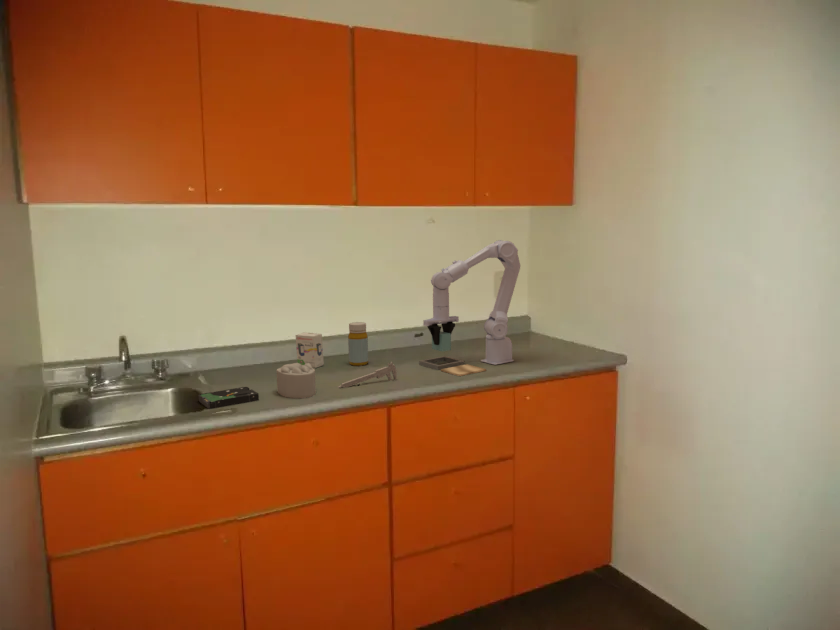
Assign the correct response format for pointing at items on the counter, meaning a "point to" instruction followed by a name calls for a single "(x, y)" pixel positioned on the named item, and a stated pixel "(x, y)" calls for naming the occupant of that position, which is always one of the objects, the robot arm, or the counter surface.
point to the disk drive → (228, 397)
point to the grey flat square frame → (439, 359)
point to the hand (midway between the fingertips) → (441, 343)
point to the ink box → (309, 349)
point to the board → (463, 370)
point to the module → (443, 342)
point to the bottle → (358, 344)
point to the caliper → (373, 375)
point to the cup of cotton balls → (296, 380)
